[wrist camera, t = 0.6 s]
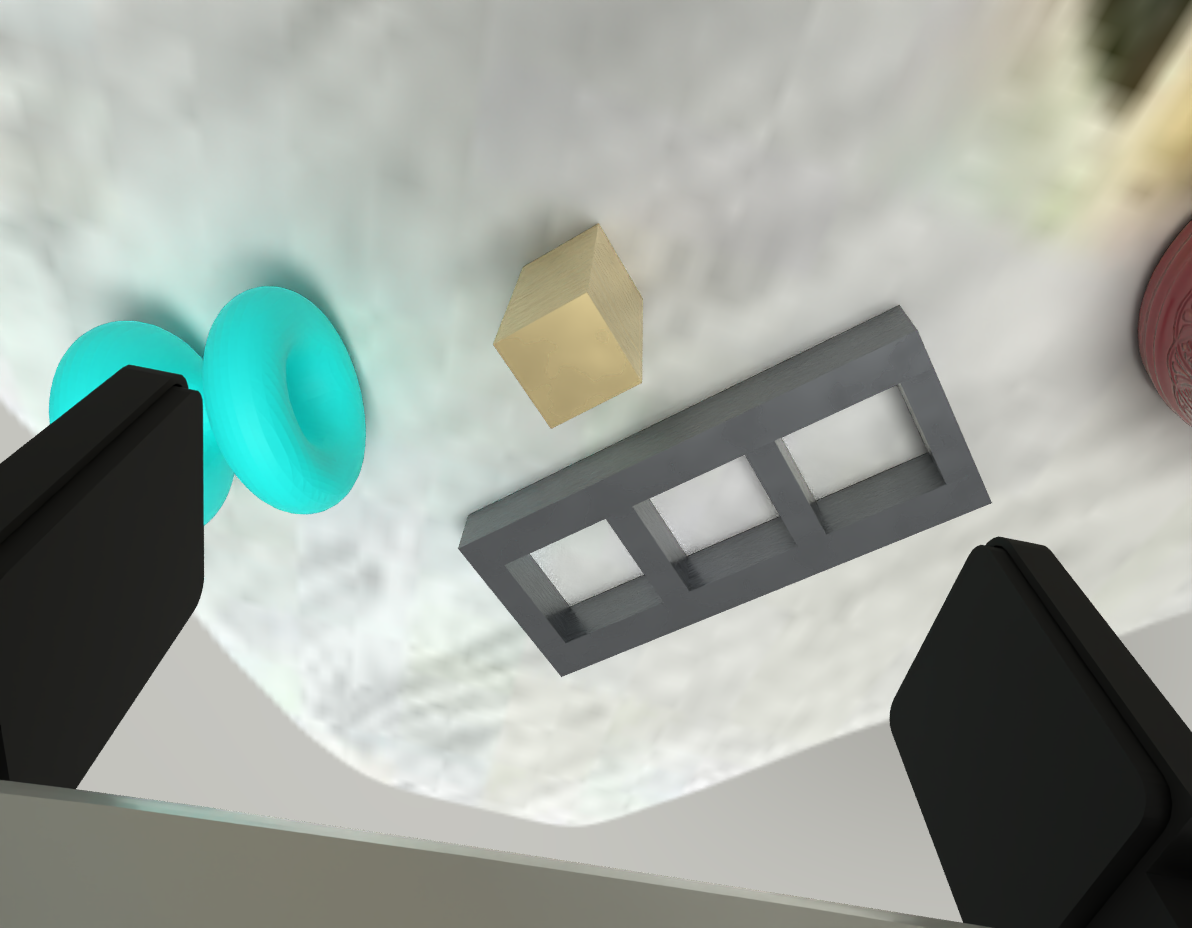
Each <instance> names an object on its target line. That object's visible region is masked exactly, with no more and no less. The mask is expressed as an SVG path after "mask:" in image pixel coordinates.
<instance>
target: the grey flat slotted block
mask: <svg viewBox="0 0 1192 928" xmlns="http://www.w3.org/2000/svg"><path fill="white" fill-rule="evenodd" d="M895 385H898V387H899V389H900V392H901V394H902V396H903V398H904V400H905V402H906V405H907V407H908V409H909V411H910V413H911V416H912V418H913V420H914V422H915V424H916V427H917V429H918V431H919V433H920V435H921V437H922V440H923V442H924V444H925V446H926V448H927V451H928V453H927V454H924V455H922V456H920V457H917V458H915V459H913V460H910V461H908V462H906V463H903V464H901V465H899V466H896V467H894V468H892V469H889V470H887V471H885V472H882V473H880V474H878V475H875V476H873V477H871V478H868V479H866V480H864V481H862V482H859V483H857V484H855V485H852V486H850V487H848V488H845V489H843V490H841V491H838V492H836V493H834V494H831V495H829V496H827V497H824V498H822V499H820V500H817V501H815V499H814V497H813V495H812V493H811V491H810V490H809V488H808V486H807V484H806V482H805V480H804V479H803V477H802V475H801V473H800V471H799V469H798V468H797V466H796V464H795V462H794V460H793V458H792V457H791V455H790V453H789V451H788V449H787V447H786V446H785V444H784V442H783V440H782V437H784V436H786V435H789V434H791V433H793V432H795V431H797V430H799V429H802V428H804V427H806V426H808V425H810V424H812V423H815V422H817V421H819V420H821V419H823V418H825V417H828V416H830V415H832V414H834V413H836V412H839V411H841V410H843V409H845V408H847V407H849V406H852V405H854V404H856V403H858V402H860V401H862V400H865V399H867V398H869V397H871V396H873V395H876V394H878V393H880V392H882V391H884V390H886V389H889V388H891V387H893V386H895ZM743 455H745V456H746V457H747V459H748V461H749V463H750V464H751V466H752V468H753V470H754V471H755V473H756V475H757V477H758V478H759V480H760V482H761V484H762V485H763V487H764V489H765V490H766V492H767V494H768V496H769V497H770V499H771V501H772V503H773V504H774V506H775V508H776V510H777V511H778V513H779V515H780V517H778V518H776V519H773V520H771V521H769V522H766V523H764V524H762V525H759V526H757V527H755V528H752V529H750V530H748V531H745V532H743V533H741V534H738V535H736V536H734V537H731V538H729V539H727V540H725V541H722V542H720V543H718V544H715V545H713V546H711V547H708V548H706V549H704V550H701V551H699V552H697V553H694V554H692V555H690V556H686V554H685V553H684V551H683V550H682V548H681V547H680V545H679V544H678V542H677V541H676V539H675V537H674V536H673V534H672V533H671V531H670V530H669V528H668V527H667V525H666V524H665V522H664V521H663V519H662V518H661V516H660V515H659V513H658V512H657V510H656V508H655V507H654V505H653V504H652V502H651V501H650V499H649V498H651V497H654V496H656V495H658V494H660V493H662V492H665V491H667V490H669V489H671V488H673V487H675V486H678V485H680V484H682V483H684V482H686V481H688V480H691V479H693V478H695V477H697V476H699V475H702V474H704V473H706V472H708V471H710V470H712V469H715V468H717V467H719V466H721V465H723V464H725V463H728V462H730V461H732V460H734V459H736V458H738V457H741V456H743ZM991 503H992V502H991V500H990V498H989V495H988V493H987V491H986V488H985V486H984V484H983V481H982V479H981V477H980V474H979V472H978V470H977V467H976V465H975V463H974V460H973V458H972V456H971V453H970V451H969V449H968V447H967V444H966V442H965V440H964V437H963V435H962V433H961V430H960V428H959V426H958V423H957V421H956V419H955V416H954V414H953V412H952V409H951V407H950V405H949V402H948V400H947V398H946V395H945V393H944V391H943V388H942V386H941V384H940V381H939V379H938V377H937V375H936V372H935V370H934V368H933V365H932V363H931V361H930V358H929V356H928V354H927V351H926V349H925V347H924V344H923V342H922V340H921V337H920V335H919V333H918V330H917V329H916V328H915V326H914V325H913V323H912V322H911V321H910V319H909V318H908V316H907V315H906V314H905V312H904V311H903V309H902V308H901V307H900V305H899V306H897V307H895V308H893V309H891V310H889V311H887V312H885V313H883V314H881V315H879V316H877V317H874V318H872V319H870V320H868V321H866V322H864V323H862V324H860V325H858V326H856V327H854V328H852V329H850V330H848V331H846V332H844V333H842V334H840V335H838V336H835V337H833V338H831V339H829V340H827V341H825V342H823V343H821V344H819V345H817V346H815V347H813V348H811V349H809V350H807V351H805V352H803V353H801V354H799V355H797V356H794V357H792V358H790V359H788V360H786V361H784V362H782V363H780V364H778V365H776V366H774V367H772V368H770V369H768V370H766V371H764V372H762V373H760V374H758V375H756V376H753V377H751V378H749V379H747V380H745V381H743V382H741V383H739V384H737V385H735V386H733V387H731V388H729V389H727V390H725V391H723V392H721V393H719V394H717V395H714V396H712V397H710V398H708V399H706V400H704V401H702V402H700V403H698V404H696V405H694V406H692V407H690V408H688V409H686V410H684V411H682V412H680V413H678V414H676V415H673V416H671V417H669V418H667V419H665V420H663V421H661V422H659V423H657V424H655V425H653V426H651V427H649V428H647V429H645V430H643V431H641V432H639V433H637V434H634V435H632V436H630V437H628V438H626V439H624V440H622V441H620V442H618V443H616V444H614V445H612V446H610V447H608V448H606V449H604V450H602V451H600V452H598V453H596V454H593V455H591V456H589V457H587V458H585V459H583V460H581V461H579V462H577V463H575V464H573V465H571V466H569V467H567V468H565V469H563V470H561V471H559V472H557V473H554V474H552V475H550V476H548V477H546V478H544V479H542V480H540V481H538V482H536V483H534V484H532V485H530V486H528V487H526V488H524V489H522V490H520V491H518V492H516V493H513V494H511V495H509V496H507V497H505V498H503V499H501V500H499V501H497V502H495V503H493V504H491V505H489V506H487V507H485V508H483V509H481V510H479V511H477V512H474V513H472V514H470V515H468V519H467V522H466V525H465V528H464V531H463V535H462V538H461V541H460V544H459V547H458V549H459V550H460V552H461V553H462V554H463V555H464V557H465V558H466V559H467V560H468V562H469V563H470V564H471V565H472V566H473V568H474V569H475V570H476V571H477V573H478V574H479V575H480V576H481V578H482V579H483V580H484V581H485V583H486V584H487V585H488V586H489V588H490V589H491V590H492V591H493V593H494V594H495V595H496V596H497V597H498V599H499V600H500V601H501V602H502V604H503V605H504V606H505V607H506V609H507V610H508V611H509V612H510V614H511V615H512V616H513V617H514V619H515V620H516V621H517V622H518V624H519V625H520V626H521V627H522V628H523V630H524V631H525V632H526V633H527V635H528V636H529V637H530V638H531V640H532V641H533V642H534V643H535V645H536V646H537V647H538V648H539V650H540V651H541V652H542V653H543V655H544V656H545V657H546V658H547V659H548V661H549V662H550V663H551V664H552V666H553V667H554V668H555V669H556V671H557V672H558V673H559V674H560V676H561V677H562V676H565V675H567V674H570V673H572V672H575V671H577V670H580V669H582V668H585V667H587V666H590V665H592V664H595V663H597V662H600V661H602V660H605V659H607V658H610V657H612V656H614V655H617V654H619V653H622V652H624V651H627V650H629V649H632V648H634V647H637V646H639V645H642V644H644V643H647V642H649V641H652V640H654V639H657V638H659V637H662V636H664V635H666V634H669V633H671V632H674V631H676V630H679V629H681V628H684V627H686V626H689V625H691V624H694V623H696V622H699V621H701V620H704V619H706V618H709V617H711V616H713V615H716V614H718V613H721V612H723V611H726V610H728V609H731V608H733V607H736V606H738V605H741V604H743V603H746V602H748V601H751V600H753V599H756V598H758V597H761V596H763V595H765V594H768V593H770V592H773V591H775V590H778V589H780V588H783V587H785V586H788V585H790V584H793V583H795V582H798V581H800V580H803V579H805V578H808V577H810V576H812V575H815V574H817V573H820V572H822V571H825V570H827V569H830V568H832V567H835V566H837V565H840V564H842V563H845V562H847V561H850V560H852V559H855V558H857V557H860V556H862V555H864V554H867V553H869V552H872V551H874V550H877V549H879V548H882V547H884V546H887V545H889V544H892V543H894V542H897V541H899V540H902V539H904V538H907V537H909V536H912V535H914V534H916V533H919V532H921V531H924V530H926V529H929V528H931V527H934V526H936V525H939V524H941V523H944V522H946V521H949V520H951V519H954V518H956V517H959V516H961V515H963V514H966V513H968V512H971V511H973V510H976V509H978V508H981V507H983V506H986V505H988V504H991ZM604 519H606V520H607V521H608V523H609V524H610V526H611V527H612V528H613V530H614V531H615V533H616V534H617V536H618V537H619V539H620V540H621V541H622V543H623V544H624V546H625V547H626V549H627V550H628V552H629V553H630V554H631V556H632V557H633V559H634V560H635V562H636V563H637V565H638V566H639V567H640V569H641V570H642V572H643V573H644V575H643V576H641V577H639V578H636V579H634V580H632V581H629V582H627V583H625V584H622V585H620V586H618V587H615V588H613V589H611V590H608V591H606V592H604V593H601V594H599V595H597V596H595V597H592V598H590V599H588V600H585V601H583V602H581V603H578V604H576V605H574V606H571V607H569V605H568V604H567V603H566V601H565V600H564V599H563V597H562V596H561V595H560V594H559V592H558V591H557V590H556V588H555V587H554V586H553V584H552V583H551V582H550V580H549V579H548V578H547V576H546V575H545V574H544V572H543V571H542V570H541V569H540V567H539V566H538V565H537V563H536V562H535V561H534V559H533V558H532V557H531V555H530V553H532V552H534V551H536V550H538V549H541V548H543V547H545V546H547V545H549V544H551V543H554V542H556V541H558V540H560V539H562V538H564V537H567V536H569V535H571V534H573V533H575V532H578V531H580V530H582V529H584V528H586V527H588V526H591V525H593V524H595V523H597V522H599V521H601V520H604Z"/></svg>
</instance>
